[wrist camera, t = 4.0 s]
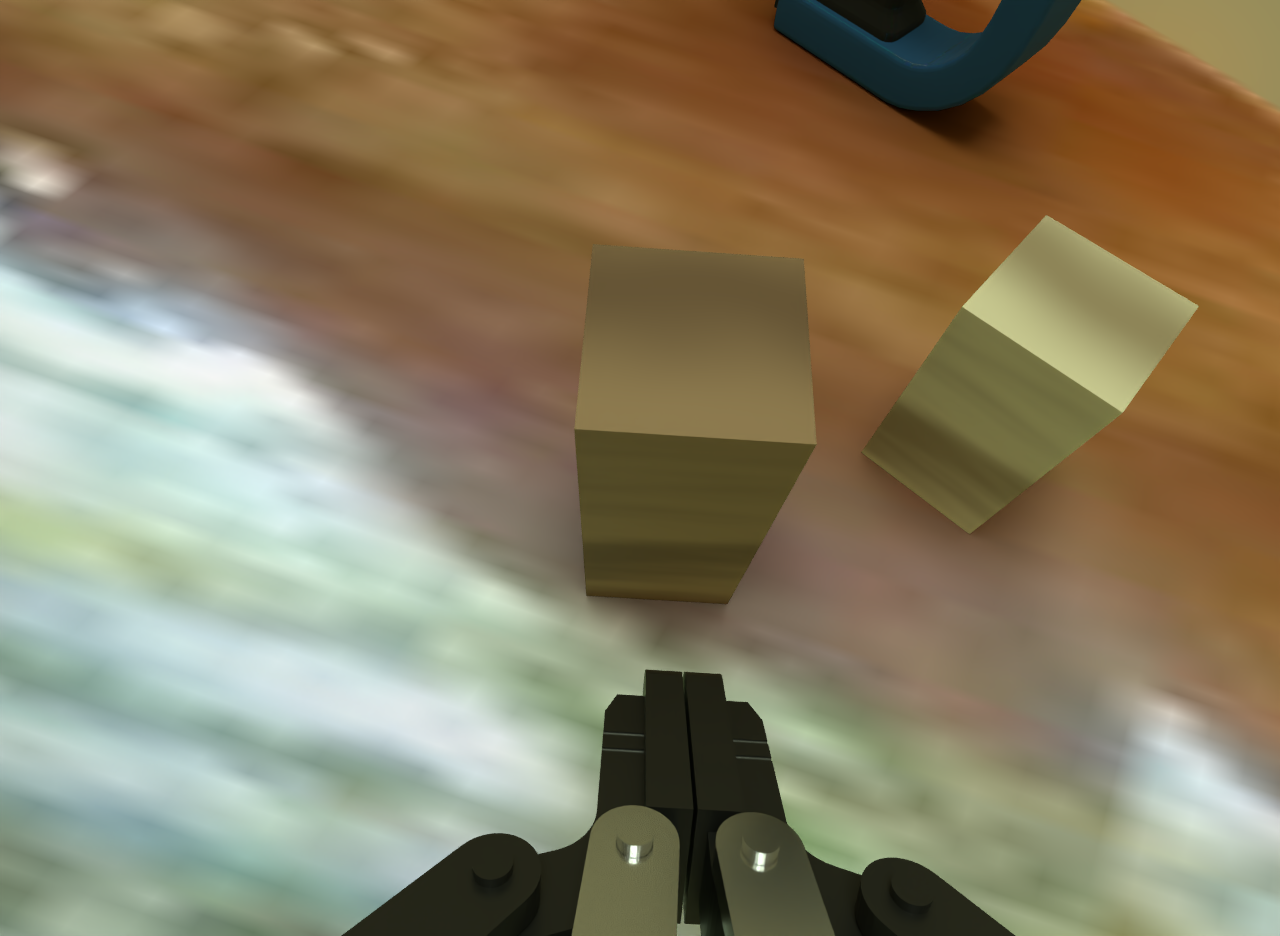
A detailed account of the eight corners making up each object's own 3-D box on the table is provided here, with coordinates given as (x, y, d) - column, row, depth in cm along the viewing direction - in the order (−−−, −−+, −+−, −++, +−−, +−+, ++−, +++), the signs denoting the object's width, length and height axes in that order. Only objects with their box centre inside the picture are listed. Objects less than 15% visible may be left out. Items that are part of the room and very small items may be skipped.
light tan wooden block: (727, 603, 26) (816, 444, 15) (586, 595, 26) (574, 429, 15) (726, 477, 28) (803, 258, 17) (597, 468, 28) (592, 244, 17)
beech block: (969, 534, 27) (1122, 412, 19) (861, 452, 29) (962, 306, 21) (1033, 450, 29) (1198, 306, 21) (929, 376, 30) (1046, 215, 22)
